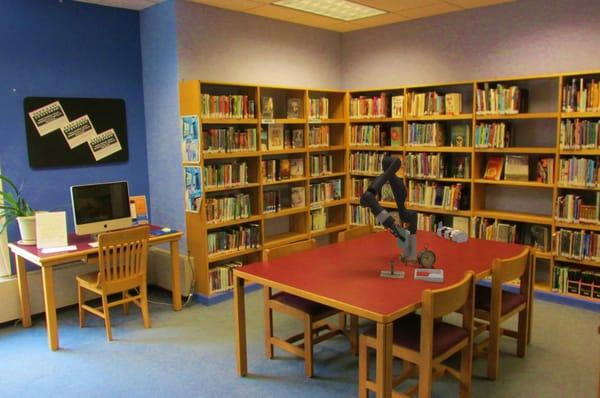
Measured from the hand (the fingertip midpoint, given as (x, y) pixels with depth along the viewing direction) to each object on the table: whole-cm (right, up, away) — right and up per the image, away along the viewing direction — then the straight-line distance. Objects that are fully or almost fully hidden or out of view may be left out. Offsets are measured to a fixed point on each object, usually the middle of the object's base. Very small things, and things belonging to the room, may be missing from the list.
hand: (405, 239), depth 291 cm
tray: (+13, -22, 0) cm, 26 cm away
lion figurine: (+7, -20, +22) cm, 30 cm away
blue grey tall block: (-2, -4, +1) cm, 5 cm away
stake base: (-7, -22, +5) cm, 24 cm away
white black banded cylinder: (+57, -8, +96) cm, 112 cm away
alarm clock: (+17, -20, +20) cm, 32 cm away
